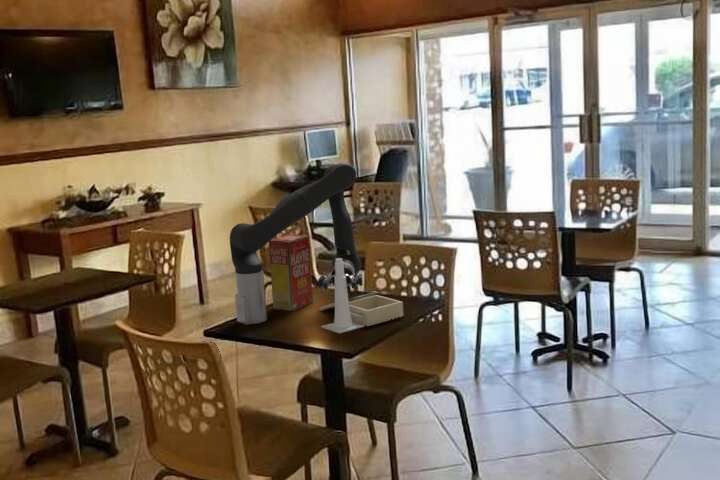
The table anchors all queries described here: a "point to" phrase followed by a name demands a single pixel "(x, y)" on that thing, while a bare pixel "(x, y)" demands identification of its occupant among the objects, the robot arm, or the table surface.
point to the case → (374, 309)
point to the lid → (334, 303)
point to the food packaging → (290, 272)
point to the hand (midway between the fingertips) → (339, 285)
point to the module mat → (341, 330)
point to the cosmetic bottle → (341, 297)
